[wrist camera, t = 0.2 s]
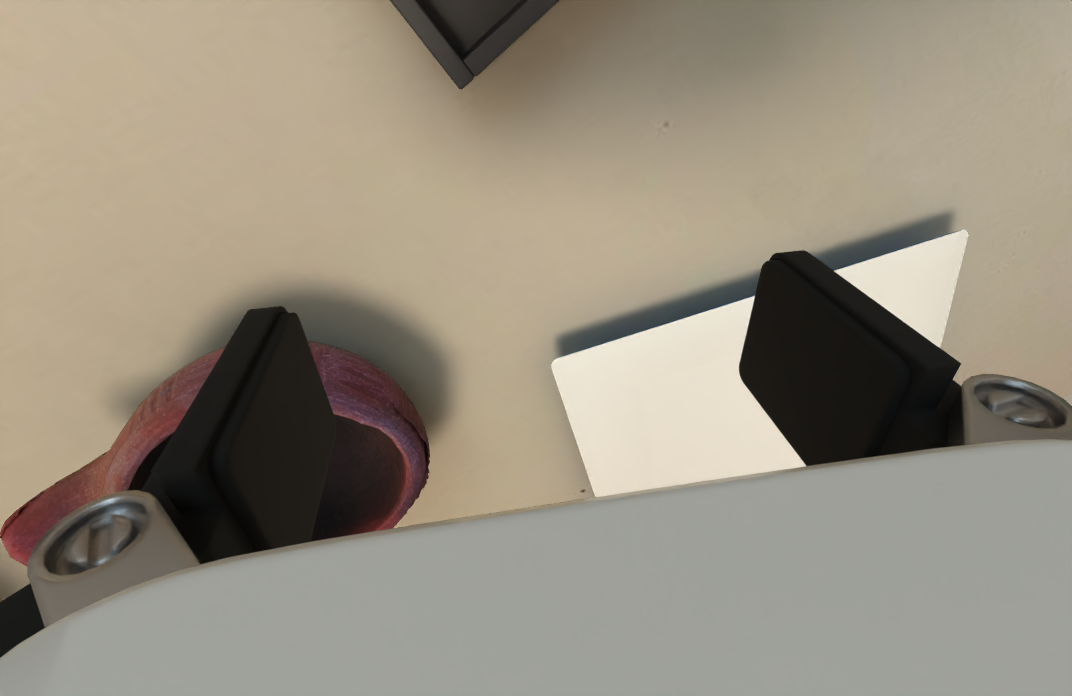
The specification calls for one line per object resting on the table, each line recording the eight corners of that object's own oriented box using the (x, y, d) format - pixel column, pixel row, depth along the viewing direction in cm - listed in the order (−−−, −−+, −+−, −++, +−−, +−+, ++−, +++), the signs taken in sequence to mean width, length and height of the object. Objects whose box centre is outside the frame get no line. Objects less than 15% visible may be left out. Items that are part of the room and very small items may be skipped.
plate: (543, 341, 29) (549, 363, 27) (942, 214, 28) (974, 229, 26) (615, 555, 42) (623, 579, 40) (887, 474, 41) (906, 495, 39)
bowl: (308, 250, 24) (257, 349, 17) (471, 413, 31) (478, 527, 24) (74, 414, 27) (-43, 551, 20) (271, 528, 34) (230, 656, 27)
